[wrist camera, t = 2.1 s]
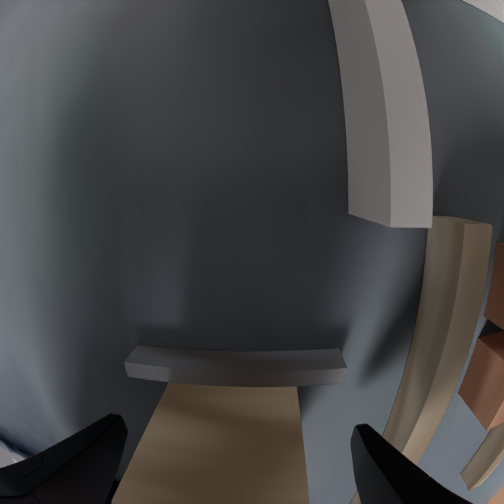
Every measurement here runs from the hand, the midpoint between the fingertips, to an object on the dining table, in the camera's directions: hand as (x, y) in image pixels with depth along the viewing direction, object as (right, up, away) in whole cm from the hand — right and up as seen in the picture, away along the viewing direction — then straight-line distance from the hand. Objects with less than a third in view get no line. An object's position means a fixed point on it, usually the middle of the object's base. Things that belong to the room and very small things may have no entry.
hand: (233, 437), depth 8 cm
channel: (+12, -1, +1) cm, 12 cm away
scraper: (0, 0, +2) cm, 2 cm away
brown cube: (+12, +1, +1) cm, 12 cm away
